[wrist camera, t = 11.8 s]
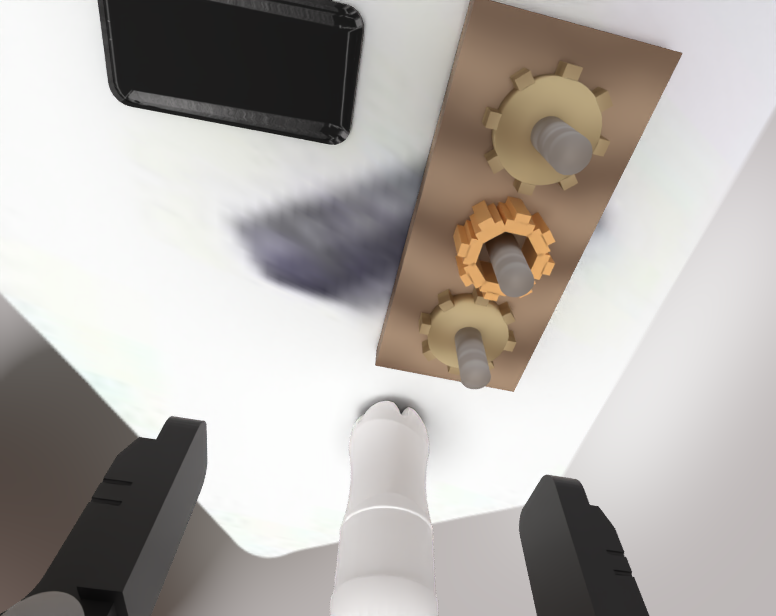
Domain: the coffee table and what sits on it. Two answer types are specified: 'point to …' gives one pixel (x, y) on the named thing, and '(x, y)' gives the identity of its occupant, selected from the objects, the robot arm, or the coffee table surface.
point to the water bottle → (386, 520)
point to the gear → (492, 224)
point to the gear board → (515, 184)
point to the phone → (238, 62)
